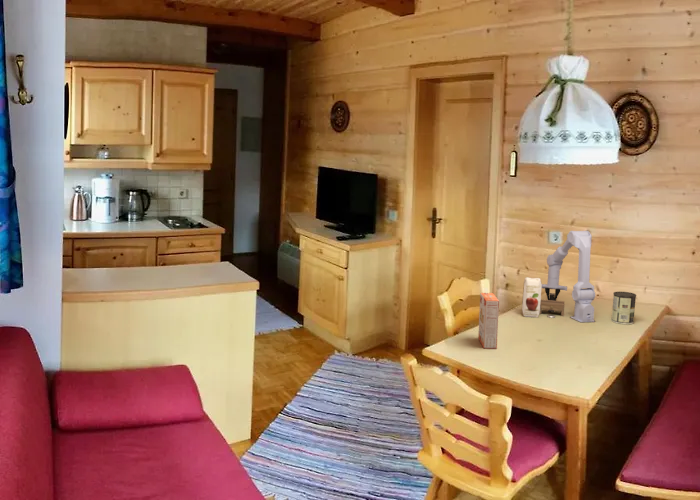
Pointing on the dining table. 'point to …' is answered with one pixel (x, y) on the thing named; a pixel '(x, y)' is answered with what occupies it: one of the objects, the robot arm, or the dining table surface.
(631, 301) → the coffee can
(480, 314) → the cracker box
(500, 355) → the dining table surface
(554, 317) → the steel token
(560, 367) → the dining table surface
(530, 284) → the juice carton
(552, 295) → the brown-topped white block
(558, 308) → the walnut u-shaped block
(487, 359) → the dining table surface
